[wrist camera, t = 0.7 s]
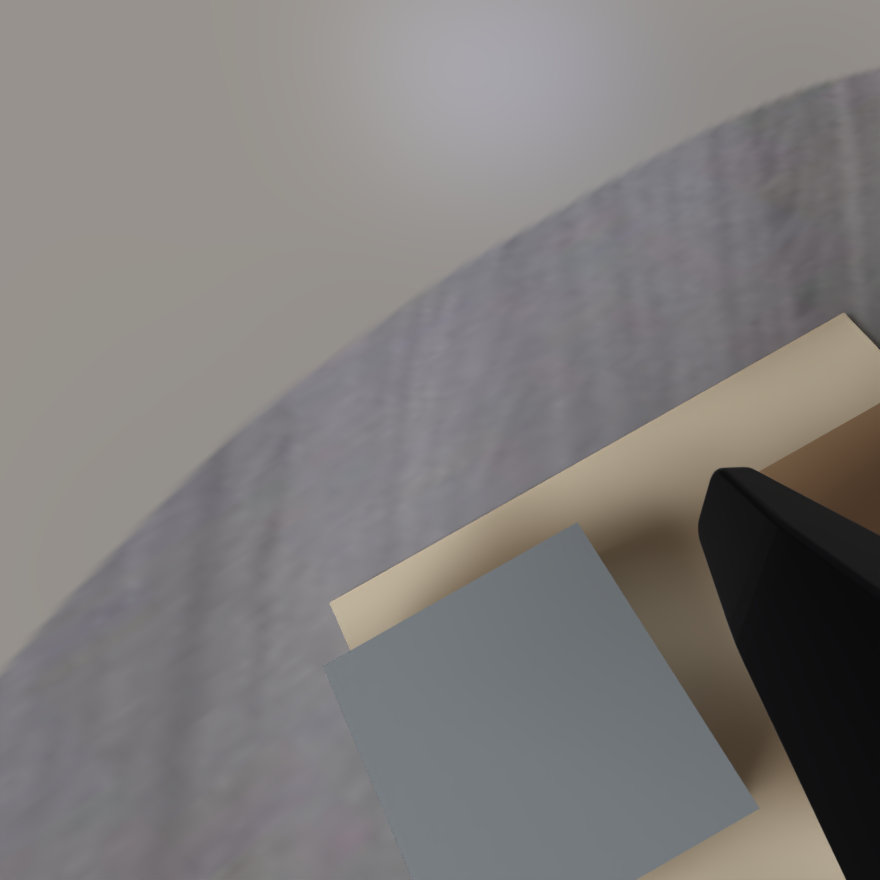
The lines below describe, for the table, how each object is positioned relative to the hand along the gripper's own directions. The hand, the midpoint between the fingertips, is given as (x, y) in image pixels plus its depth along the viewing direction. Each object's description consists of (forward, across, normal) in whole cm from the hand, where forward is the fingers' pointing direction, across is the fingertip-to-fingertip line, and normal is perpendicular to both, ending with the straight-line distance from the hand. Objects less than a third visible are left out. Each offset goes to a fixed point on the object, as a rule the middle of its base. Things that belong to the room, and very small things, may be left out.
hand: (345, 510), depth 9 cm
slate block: (+7, -6, +14) cm, 17 cm away
